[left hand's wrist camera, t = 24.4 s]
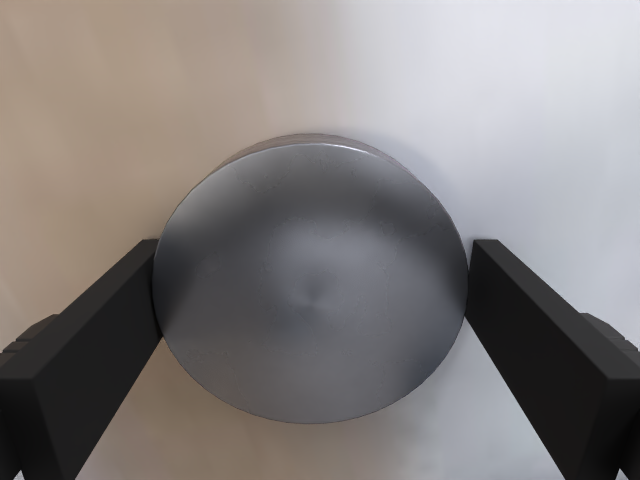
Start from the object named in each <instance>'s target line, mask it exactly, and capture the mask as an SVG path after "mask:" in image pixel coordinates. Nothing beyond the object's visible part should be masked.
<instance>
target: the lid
mask: <svg viewBox="0 0 640 480" xmlns="http://www.w3.org/2000/svg"><path fill="white" fill-rule="evenodd" d="M468 293H469V271H468V265H467V260H466V254H465V250H464V247H463V244H462V241H461V238H460V235H459V233H458V231H457V229H456V227H455V225H454V223H453V221H452V219H451V217H450V216H449V214H448V213H447V211H446V210H445V209H444V207H443V206H442V204H441V203H440V202H439V200H438V199H437V198H436V197H435V196H434V195H433V194H432V193H431V192H430V191H429V190H428V189H427V188H426V187H425V186H424V184H422V183H421V182H420V181H419V180H418V179H417V178H416V177H415V176H414V175H413V174H412V173H411V172H410V171H408V170H407V169H406V168H405V167H403V166H402V165H401V164H400V163H398V162H397V161H396V160H394V159H393V158H391V157H390V156H388V155H386V154H385V153H383V152H381V151H379V150H378V149H376V148H373V147H371V146H368V145H366V144H363V143H361V142H359V141H355V140H351V139H347V138H343V137H339V136H332V135H324V134H296V135H289V136H283V137H277V138H274V139H270V140H267V141H264V142H260V143H257V144H255V145H253V146H251V147H248V148H246V149H244V150H242V151H240V152H238V153H237V154H235V155H233V156H232V157H230V158H229V159H227V160H226V161H224V162H223V163H222V164H220V165H219V166H218V167H217V168H216V169H215V170H213V171H212V172H211V173H210V174H209V175H208V176H206V177H205V178H204V179H203V180H202V181H201V182H200V183H199V184H198V185H196V186H195V187H194V188H193V189H192V190H191V191H190V192H189V193H188V195H187V196H186V197H185V198H184V199H183V200H182V201H181V203H180V204H179V205H178V206H177V208H176V209H175V211H174V212H173V214H172V216H171V217H170V219H169V220H168V222H167V224H166V226H165V228H164V230H163V233H162V235H161V237H160V239H159V242H158V246H157V250H156V253H155V257H154V262H153V270H152V299H153V304H154V309H155V315H156V318H157V321H158V324H159V327H160V330H161V333H162V335H163V337H164V339H165V341H166V343H167V345H168V347H169V349H170V350H171V352H172V353H173V355H174V356H175V357H176V359H177V360H178V362H179V363H180V365H181V366H182V367H183V368H184V369H185V370H186V371H187V372H188V373H189V375H190V376H191V377H192V378H193V379H194V380H196V381H197V382H198V383H199V384H200V385H201V386H202V387H204V388H205V389H206V390H207V391H209V392H210V393H212V394H213V395H215V396H216V397H218V398H219V399H221V400H222V401H224V402H226V403H228V404H230V405H232V406H234V407H235V408H238V409H240V410H243V411H245V412H248V413H250V414H253V415H256V416H259V417H263V418H266V419H270V420H276V421H281V422H287V423H299V424H324V423H332V422H340V421H345V420H349V419H354V418H358V417H361V416H364V415H367V414H370V413H373V412H376V411H378V410H380V409H382V408H384V407H387V406H389V405H391V404H393V403H394V402H396V401H398V400H399V399H401V398H403V397H404V396H406V395H408V394H409V393H410V392H411V391H413V390H414V389H415V388H417V387H418V386H419V385H421V384H422V383H423V382H424V381H425V380H426V379H427V378H428V377H429V376H430V375H431V374H432V373H433V372H434V371H435V370H436V368H437V367H438V366H439V365H440V363H441V362H442V361H443V360H444V358H445V357H446V355H447V354H448V352H449V350H450V349H451V347H452V345H453V344H454V342H455V340H456V338H457V335H458V333H459V331H460V328H461V326H462V323H463V319H464V316H465V312H466V308H467V301H468Z"/></svg>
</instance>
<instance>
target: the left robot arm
mask: <svg viewBox="0 0 640 480" xmlns="http://www.w3.org/2000/svg"><path fill="white" fill-rule="evenodd" d="M158 242H159V240H142V241H141V242H140V243H138V244H137V245H136V246H135V247H134V248H133V249H132V250H131V251H129V252H128V253H127V254H126V255H125V256H124V257H123V258H122V259H121V260H119V261H118V262H117V263H116V264H115V265H114V266H113V267H112V268H111V269H109V270H108V271H107V272H106V273H105V274H104V275H103V276H102V277H100V278H99V279H98V280H97V281H96V282H95V283H94V284H93V285H92V286H90V287H89V288H88V289H87V290H86V291H85V292H84V293H83V294H81V295H80V296H79V297H78V298H77V299H76V300H75V301H74V302H73V303H71V304H70V305H69V306H68V307H67V308H66V309H65V310H64V311H62V312H61V313H60V314H53V315H51V316H49V317H47V318H45V319H43V320H42V321H40V322H38V323H36V324H34V325H32V326H31V327H29V328H28V329H27V330H26V331H25V332H24V333H22V334H21V335H20V336H19V337H18V338H17V339H16V342H12V343H11V344H9V345H8V346H7V347H6V348H5V349H4V350H3V352H2V353H0V480H13V479H14V478H15V476H16V475H17V474H18V473H19V471H20V470H21V471H22V474H23V477H24V479H25V480H75V478H76V477H77V475H78V473H79V472H80V470H81V469H82V467H83V465H84V464H85V462H86V460H87V459H88V457H89V456H90V454H91V452H92V451H93V449H94V447H95V446H96V444H97V443H98V441H99V439H100V438H101V436H102V434H103V433H104V431H105V430H106V428H107V426H108V425H109V423H110V421H111V420H112V418H113V417H114V415H115V413H116V412H117V410H118V408H119V407H120V405H121V404H122V402H123V400H124V399H125V397H126V395H127V394H128V392H129V391H130V389H131V387H132V386H133V384H134V382H135V381H136V379H137V378H138V376H139V374H140V373H141V371H142V369H143V368H144V366H145V365H146V363H147V361H148V360H149V358H150V356H151V355H152V353H153V352H154V350H155V348H156V347H157V345H158V343H159V342H160V340H161V339H162V337H163V335H162V333H161V330H160V327H159V324H158V321H157V318H156V315H155V309H154V304H153V299H152V270H153V262H154V257H155V253H156V250H157V246H158ZM465 317H466V319H467V321H468V322H469V324H470V325H471V327H472V329H473V330H474V332H475V334H476V335H477V337H478V338H479V340H480V342H481V343H482V345H483V347H484V348H485V350H486V351H487V353H488V355H489V356H490V358H491V360H492V361H493V363H494V364H495V366H496V368H497V369H498V371H499V373H500V374H501V376H502V377H503V379H504V381H505V382H506V384H507V386H508V387H509V389H510V390H511V392H512V394H513V395H514V397H515V399H516V400H517V402H518V403H519V405H520V407H521V408H522V410H523V412H524V413H525V415H526V416H527V418H528V420H529V421H530V423H531V425H532V426H533V428H534V429H535V431H536V433H537V434H538V436H539V438H540V439H541V441H542V442H543V444H544V446H545V447H546V449H547V451H548V452H549V454H550V455H551V457H552V459H553V460H554V462H555V464H556V465H557V467H558V468H559V470H560V472H561V473H562V475H563V477H564V478H565V480H615V479H616V476H617V474H618V471H619V468H620V469H621V470H622V472H623V473H624V474H625V475H626V477H627V478H628V479H629V480H640V352H638V348H636V347H635V346H634V345H633V344H632V343H631V342H629V341H628V340H625V337H623V336H622V335H621V334H620V333H619V332H618V331H616V330H615V329H614V328H613V327H612V326H610V325H609V324H607V323H606V322H604V321H602V320H600V319H598V318H596V317H594V316H592V315H590V314H588V313H579V312H578V311H576V310H575V309H574V308H573V307H572V306H571V305H570V304H569V303H568V302H566V301H565V300H564V299H563V298H562V297H561V296H560V295H559V294H557V293H556V292H555V291H554V290H553V289H552V288H551V287H550V286H549V285H547V284H546V283H545V282H544V281H543V280H542V279H541V278H540V277H539V276H537V275H536V274H535V273H534V272H533V271H532V270H531V269H530V268H528V267H527V266H526V265H525V264H524V263H523V262H522V261H521V260H520V259H518V258H517V257H516V256H515V255H514V254H513V253H512V252H511V251H510V250H508V249H507V248H506V247H505V246H504V245H503V244H502V243H501V242H499V241H498V240H474V242H473V248H472V255H471V262H470V269H469V293H468V301H467V308H466V312H465Z"/></svg>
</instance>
